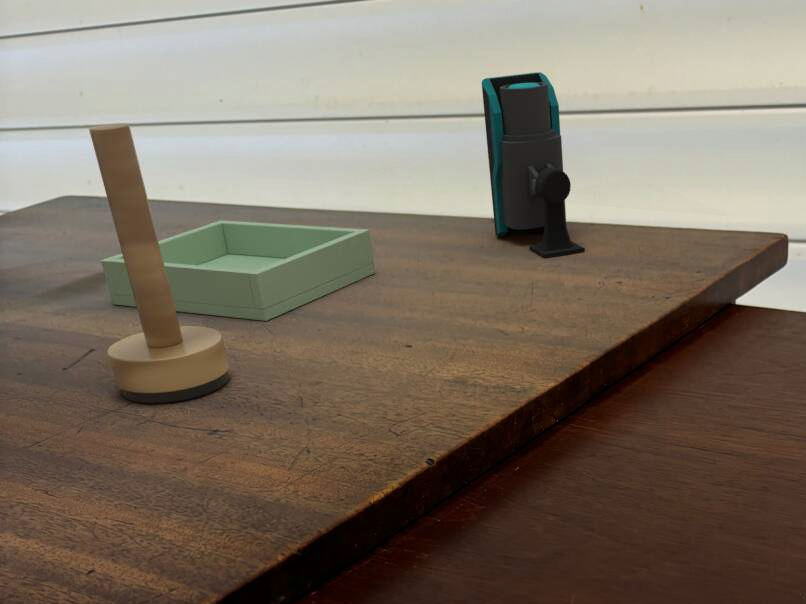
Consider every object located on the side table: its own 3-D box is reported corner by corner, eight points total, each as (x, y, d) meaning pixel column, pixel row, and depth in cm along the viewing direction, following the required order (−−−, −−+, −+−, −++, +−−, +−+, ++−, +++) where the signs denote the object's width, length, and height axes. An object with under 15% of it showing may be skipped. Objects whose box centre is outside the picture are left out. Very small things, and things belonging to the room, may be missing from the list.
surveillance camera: (519, 90, 88) (478, 78, 95) (532, 259, 95) (493, 236, 102) (588, 81, 89) (543, 71, 97) (596, 249, 96) (553, 227, 104)
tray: (112, 304, 91) (100, 260, 89) (229, 261, 101) (220, 220, 99) (266, 321, 85) (256, 273, 83) (375, 273, 94) (369, 229, 92)
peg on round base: (95, 397, 73) (16, 136, 65) (174, 363, 78) (110, 115, 69) (178, 410, 70) (107, 138, 62) (254, 373, 75) (198, 116, 67)
